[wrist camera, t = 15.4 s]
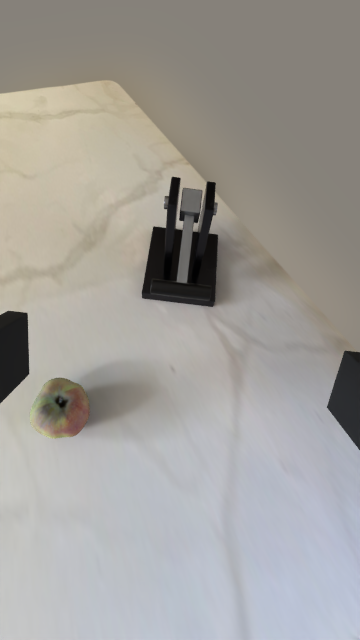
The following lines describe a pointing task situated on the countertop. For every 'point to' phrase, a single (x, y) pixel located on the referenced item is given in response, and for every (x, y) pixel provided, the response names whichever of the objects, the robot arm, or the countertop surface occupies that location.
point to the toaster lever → (185, 254)
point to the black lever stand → (169, 245)
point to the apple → (60, 409)
